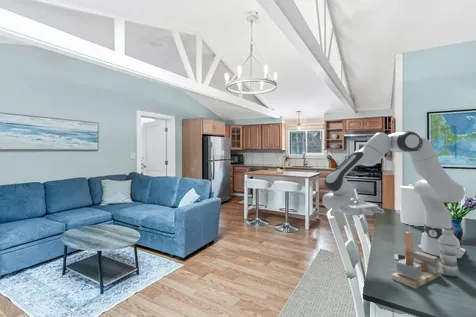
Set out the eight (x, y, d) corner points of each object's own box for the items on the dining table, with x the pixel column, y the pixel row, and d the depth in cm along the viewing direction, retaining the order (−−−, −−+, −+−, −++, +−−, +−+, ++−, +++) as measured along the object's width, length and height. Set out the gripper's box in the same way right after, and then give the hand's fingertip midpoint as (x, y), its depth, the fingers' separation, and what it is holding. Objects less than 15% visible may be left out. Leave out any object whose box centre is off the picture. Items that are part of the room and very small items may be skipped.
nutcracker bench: (416, 267, 114) (416, 250, 114) (439, 275, 106) (439, 257, 106) (392, 278, 104) (391, 260, 104) (415, 288, 96) (415, 268, 96)
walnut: (418, 267, 110) (418, 258, 110) (428, 271, 106) (428, 261, 106) (413, 269, 108) (413, 260, 108) (424, 273, 104) (423, 263, 104)
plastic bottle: (438, 270, 111) (437, 226, 111) (458, 274, 107) (457, 228, 107) (438, 275, 106) (437, 229, 106) (459, 280, 102) (458, 232, 102)
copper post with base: (403, 270, 107) (402, 229, 107) (421, 277, 101) (421, 233, 101) (397, 273, 104) (396, 231, 104) (415, 280, 98) (414, 235, 98)
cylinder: (415, 227, 177) (414, 188, 177) (395, 221, 194) (394, 186, 194) (434, 225, 181) (433, 187, 181) (412, 219, 198) (411, 185, 198)
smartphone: (433, 266, 116) (433, 264, 116) (394, 260, 123) (394, 258, 123) (430, 261, 122) (430, 259, 122) (394, 255, 130) (394, 253, 130)
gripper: (338, 201, 120) (365, 207, 108) (362, 199, 131) (389, 204, 119) (337, 214, 120) (364, 221, 108) (361, 210, 131) (388, 217, 119)
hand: (378, 212), depth 114 cm, fingers open, 8 cm apart
